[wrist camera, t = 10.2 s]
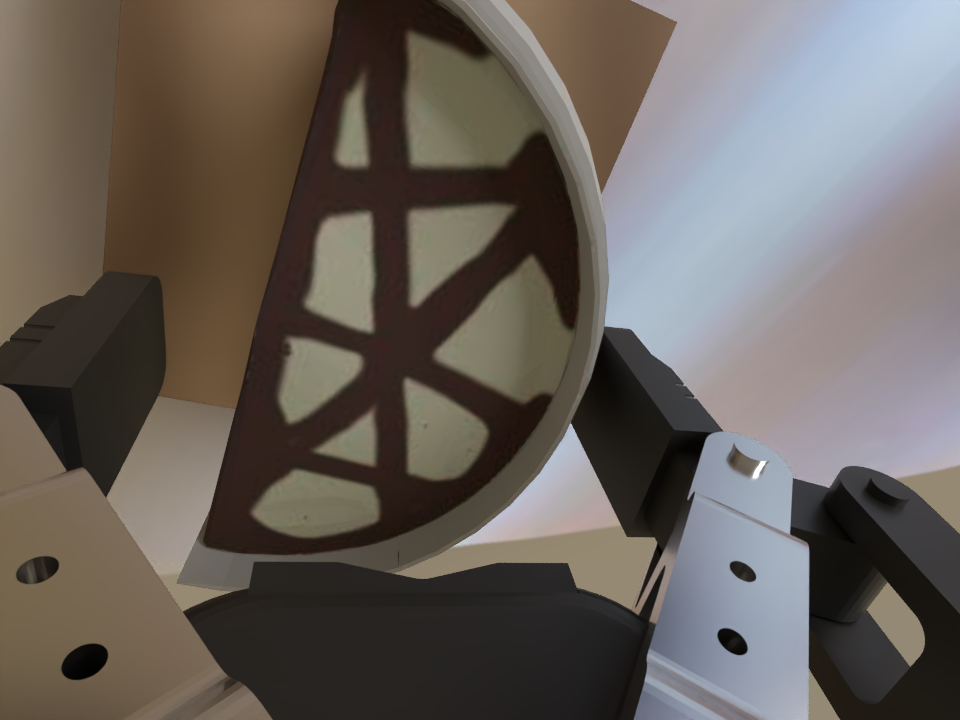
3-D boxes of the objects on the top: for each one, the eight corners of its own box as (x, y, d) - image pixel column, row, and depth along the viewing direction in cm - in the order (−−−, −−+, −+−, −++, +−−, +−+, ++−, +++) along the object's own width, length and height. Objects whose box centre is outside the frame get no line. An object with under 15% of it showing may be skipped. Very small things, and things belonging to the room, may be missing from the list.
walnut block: (613, 17, 21) (677, 22, 17) (468, 384, 28) (487, 451, 24) (190, -174, 17) (136, -229, 13) (140, 316, 24) (95, 385, 20)
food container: (455, 411, 22) (466, 662, 13) (287, 359, 20) (171, 602, 12) (613, 60, 17) (806, 86, 8) (402, -41, 15) (350, -146, 7)
